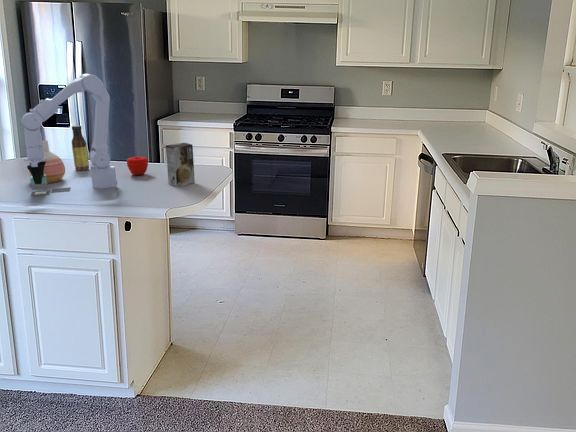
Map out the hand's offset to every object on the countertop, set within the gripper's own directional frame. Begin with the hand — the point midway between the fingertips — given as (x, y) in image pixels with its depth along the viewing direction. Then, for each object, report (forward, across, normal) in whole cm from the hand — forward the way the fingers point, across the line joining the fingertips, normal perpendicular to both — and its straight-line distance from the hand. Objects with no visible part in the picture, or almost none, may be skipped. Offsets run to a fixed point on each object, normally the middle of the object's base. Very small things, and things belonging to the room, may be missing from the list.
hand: (39, 182), depth 210 cm
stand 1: (+5, 0, 0) cm, 5 cm away
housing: (+2, 0, 0) cm, 2 cm away
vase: (+6, -21, +1) cm, 22 cm away
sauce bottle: (+6, -46, +13) cm, 48 cm away
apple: (+6, -27, +37) cm, 46 cm away
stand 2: (+5, -3, +7) cm, 9 cm away
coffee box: (+6, -5, +53) cm, 54 cm away
